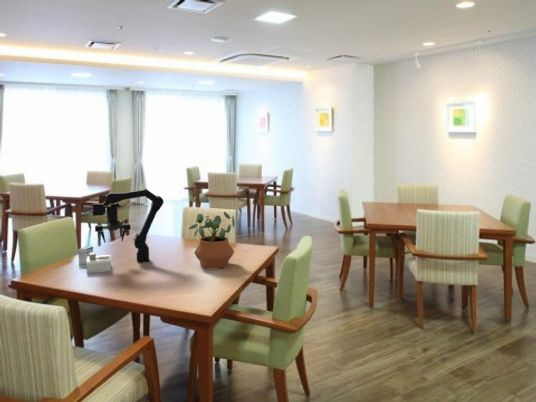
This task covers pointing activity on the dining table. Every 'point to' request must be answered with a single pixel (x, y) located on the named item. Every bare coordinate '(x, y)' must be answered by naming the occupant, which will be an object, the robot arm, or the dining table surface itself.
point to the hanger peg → (92, 256)
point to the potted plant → (213, 243)
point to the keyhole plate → (99, 264)
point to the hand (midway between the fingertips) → (113, 242)
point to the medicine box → (84, 254)
